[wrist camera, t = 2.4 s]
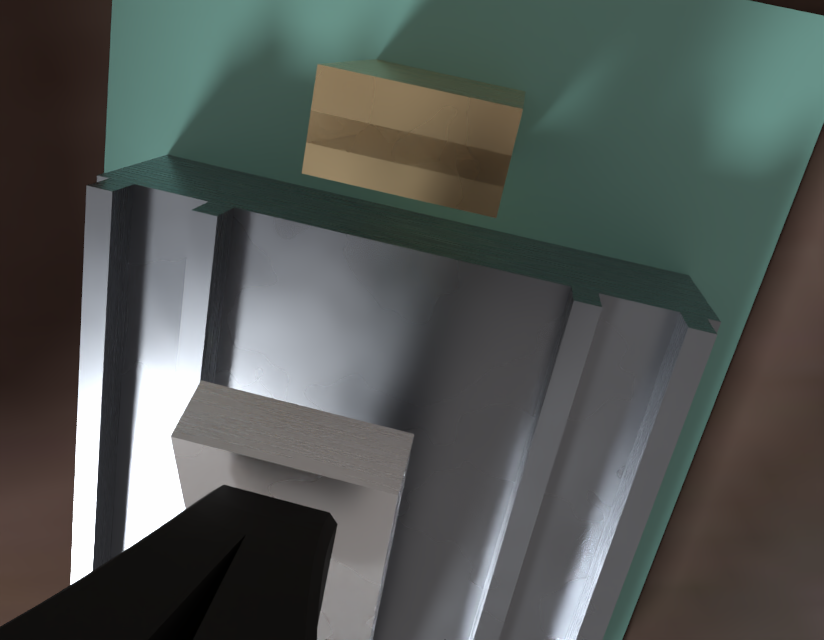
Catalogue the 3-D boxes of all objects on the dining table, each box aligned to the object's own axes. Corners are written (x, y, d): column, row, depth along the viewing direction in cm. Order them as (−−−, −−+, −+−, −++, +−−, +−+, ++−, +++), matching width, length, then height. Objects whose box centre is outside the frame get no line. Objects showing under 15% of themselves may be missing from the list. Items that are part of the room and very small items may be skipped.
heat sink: (131, 615, 22) (33, 754, 18) (177, 15, 16) (47, 4, 12) (531, 726, 21) (530, 900, 17) (737, 137, 15) (819, 173, 11)
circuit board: (88, 704, 25) (77, 719, 24) (132, -123, 16) (118, -129, 15) (539, 833, 24) (539, 852, 23) (850, 24, 15) (862, 23, 14)
